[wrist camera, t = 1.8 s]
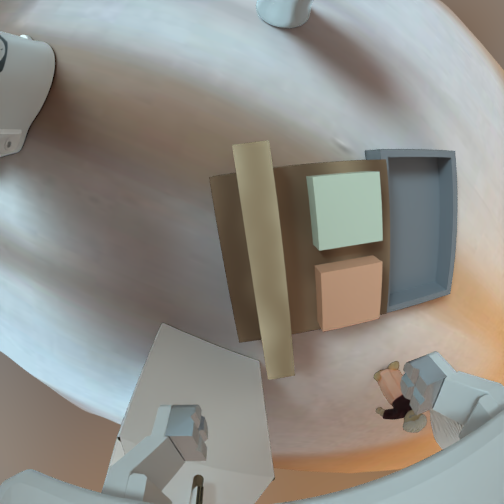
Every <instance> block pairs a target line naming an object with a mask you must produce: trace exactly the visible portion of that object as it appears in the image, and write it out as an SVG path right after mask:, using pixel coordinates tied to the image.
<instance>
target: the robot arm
mask: <svg viewBox="0 0 504 504" xmlns="http://www.w3.org/2000/svg"><path fill="white" fill-rule="evenodd" d="M54 69H55V57H54V53H53V50H52V48H51V47H50V46H49V45H48V44H47V43H45V42H41V41H34V40H32V39H31V37H30V36H28V35H21V36H17V35H13V34H9V33H5V32H1V31H0V157H2V156H5V155H9V154H13V153H17V152H19V151H20V150H21V148H22V146H23V143H24V141H25V137H26V134H27V131H28V128H29V127H30V125H31V123H32V122H33V120H34V119H35V117H36V116H37V114H38V112H39V111H40V109H41V107H42V105H43V103H44V101H45V99H46V97H47V95H48V92H49V89H50V86H51V83H52V80H53V75H54ZM403 370H404V372H405V374H404V375H403V376H402V378H401V382H400V386H401V391H402V394H403V395H404V397H405V398H407V399H409V400H410V406H411V408H412V409H413V411H414V413H415V414H416V415H418V414H421V413H423V412H425V411H428V410H430V409H432V408H433V410H435V411H437V412H439V413H441V414H442V415H444V416H446V417H448V418H450V419H452V420H454V421H456V422H458V423H460V424H462V425H464V427H463V428H462V430H461V432H460V433H459V436H458V437H459V439H460V440H459V441H457V442H455V443H454V444H452V445H450V446H448V447H447V448H445V449H443V450H441V451H439V452H437V453H436V454H434V455H432V456H430V457H428V458H426V459H424V460H422V461H420V462H417V463H415V464H413V465H411V466H409V467H406V468H404V469H402V470H400V471H397V472H395V473H392V474H390V475H387V476H384V477H382V478H379V479H376V480H373V481H370V482H367V483H364V484H361V485H358V486H355V487H352V488H349V489H345V490H341V491H338V492H334V493H330V494H325V495H321V496H316V497H312V498H307V499H302V500H296V501H290V502H283V503H276V504H504V387H503V385H502V384H501V383H497V382H494V381H490V380H487V379H484V378H480V377H477V376H474V375H470V374H467V373H464V372H461V371H458V372H456V371H455V370H454V369H453V368H452V366H451V365H450V364H449V363H448V362H447V361H446V360H445V359H444V358H443V357H442V356H441V355H440V354H439V353H438V352H436V351H435V352H432V353H430V354H427V355H425V356H422V357H420V358H417V359H415V360H412V361H409V362H407V363H406V364H405V365H404V369H403ZM201 412H202V410H201V408H200V406H199V405H160V407H159V408H158V412H157V415H156V419H155V423H154V427H153V430H152V434H151V436H147V437H146V438H144V439H143V440H142V441H141V442H140V443H139V444H137V445H136V446H135V447H134V448H133V449H132V450H130V451H129V452H128V453H127V454H126V455H124V456H123V457H122V458H121V459H120V460H118V461H117V462H116V463H115V464H113V465H112V466H111V467H110V468H109V470H108V473H107V476H106V479H105V483H104V486H103V489H102V492H101V493H99V492H95V491H92V490H88V489H84V488H81V487H78V486H75V485H72V484H69V483H66V482H63V481H60V480H58V479H55V478H53V477H50V476H47V475H45V474H43V473H40V472H38V471H36V470H32V469H28V470H25V471H22V472H20V473H18V474H16V475H14V476H13V477H11V478H9V479H7V480H5V481H4V482H3V483H2V485H1V486H0V504H172V501H171V500H170V499H169V498H168V497H167V496H166V495H165V494H164V493H163V492H161V491H162V490H163V489H164V488H165V486H166V485H167V484H168V483H169V482H170V480H171V479H172V478H173V477H174V476H175V474H176V473H177V472H178V471H179V469H180V468H181V467H182V466H183V464H184V463H185V461H206V457H207V446H206V444H205V441H206V440H207V439H208V426H207V422H206V419H205V417H203V416H202V415H201Z"/></svg>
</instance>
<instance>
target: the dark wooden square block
mask: <svg viewBox="0 0 504 504" xmlns="http://www.w3.org/2000/svg"><path fill="white" fill-rule="evenodd" d="M361 171H377V172H379V173H380V185H381V201H382V228H383V241H377V242H371V243H364V244H358V245H352V246H346V247H340V248H333V249H327V250H321V251H319V250H318V249H317V248H316V247H315V246H314V245H313V238H312V226H311V216H310V206H309V196H308V187H307V179H306V176H314V175H324V174H335V173H347V172H361ZM273 173H274V180H275V188H276V195H277V203H278V211H279V219H280V228H281V236H282V245H283V254H284V263H285V272H286V282H287V291H288V302H289V312H290V323H291V334H297V333H302V332H307V331H312V330H317V329H321V327H320V325H319V323H318V321H317V299H316V280H315V265H320V264H326V263H332V262H337V261H343V260H349V259H355V258H360V257H366V256H371V255H373V256H375V257H376V258H378V259H379V260H381V261H382V289H381V305H380V315H382V314H386V313H387V303H388V290H389V271H390V206H389V187H388V174H387V163H386V159H377V160H351V161H336V162H323V163H311V164H301V165H291V166H282V167H274V168H273ZM209 179H210V186H211V192H212V198H213V204H214V210H215V216H216V222H217V228H218V233H219V239H220V245H221V250H222V256H223V261H224V267H225V272H226V278H227V283H228V288H229V293H230V299H231V304H232V309H233V314H234V319H235V324H236V329H237V334H238V339H239V343H240V342H247V341H254V340H261V339H262V338H261V332H260V326H259V319H258V313H257V306H256V300H255V293H254V287H253V280H252V274H251V267H250V260H249V254H248V247H247V241H246V234H245V227H244V221H243V214H242V208H241V201H240V194H239V188H238V181H237V174H236V173H231V174H224V175H218V176H213V177H209Z"/></svg>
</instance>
